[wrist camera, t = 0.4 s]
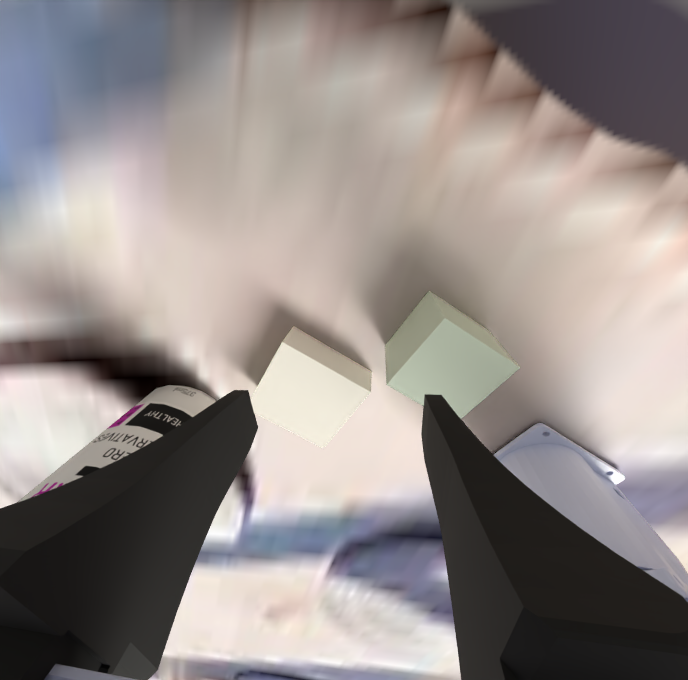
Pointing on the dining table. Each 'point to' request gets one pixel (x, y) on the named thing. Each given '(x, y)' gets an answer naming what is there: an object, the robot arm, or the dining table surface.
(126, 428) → the supplement can
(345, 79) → the dining table surface
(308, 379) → the cream box
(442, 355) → the green cube
